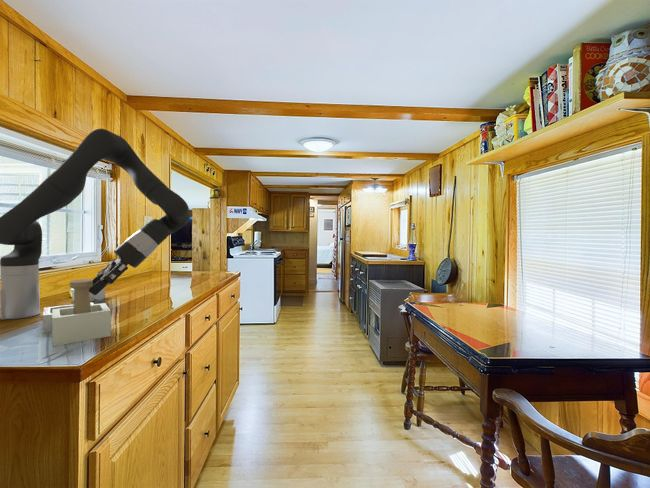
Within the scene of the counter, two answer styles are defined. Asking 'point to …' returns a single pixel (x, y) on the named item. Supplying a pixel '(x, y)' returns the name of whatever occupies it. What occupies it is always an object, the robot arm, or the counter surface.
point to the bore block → (48, 317)
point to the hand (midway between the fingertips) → (90, 290)
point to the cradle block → (80, 324)
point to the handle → (81, 295)
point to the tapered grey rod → (99, 297)
